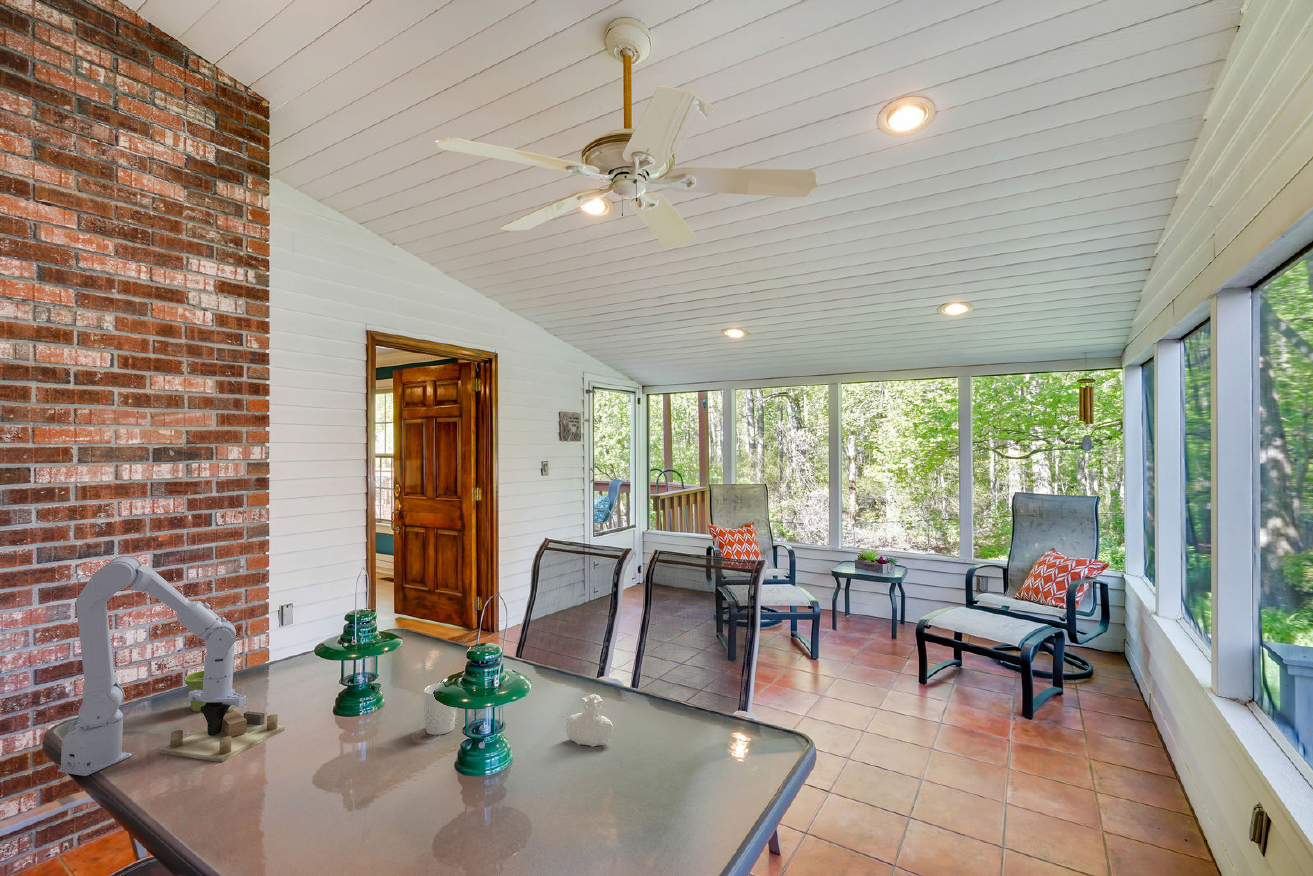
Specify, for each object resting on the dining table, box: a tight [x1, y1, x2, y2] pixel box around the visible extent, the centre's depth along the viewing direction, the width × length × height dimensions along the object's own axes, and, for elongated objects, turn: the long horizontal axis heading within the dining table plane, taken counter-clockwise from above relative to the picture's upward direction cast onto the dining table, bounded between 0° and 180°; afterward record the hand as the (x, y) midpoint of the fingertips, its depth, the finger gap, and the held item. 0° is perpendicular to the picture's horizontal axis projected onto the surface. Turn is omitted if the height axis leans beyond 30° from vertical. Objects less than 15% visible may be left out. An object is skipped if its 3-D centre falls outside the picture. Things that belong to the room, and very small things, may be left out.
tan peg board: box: [160, 711, 286, 763], centre depth 146 cm, size 17×17×4 cm
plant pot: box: [184, 670, 206, 713], centre depth 166 cm, size 9×9×9 cm
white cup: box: [423, 682, 457, 736], centre depth 154 cm, size 8×8×10 cm
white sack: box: [565, 693, 614, 748], centre depth 149 cm, size 12×8×11 cm
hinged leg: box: [221, 708, 247, 737], centre depth 150 cm, size 11×4×4 cm, turn 50°
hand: (214, 734), depth 146 cm, fingers closed, pressing on hinged leg
